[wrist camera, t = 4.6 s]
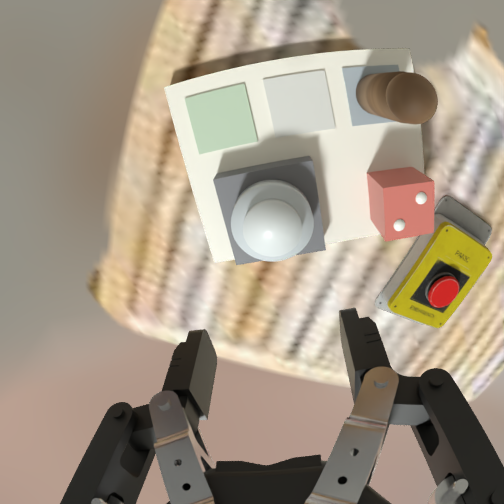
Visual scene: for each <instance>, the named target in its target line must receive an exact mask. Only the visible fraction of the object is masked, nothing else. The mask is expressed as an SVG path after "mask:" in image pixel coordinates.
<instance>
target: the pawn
mask: <svg viewBox="0 0 504 504" xmlns="http://www.w3.org/2000/svg"><path fill="white" fill-rule="evenodd" d="M356 99H357V101H358V103H359V105H360V107H361V108H362V109H363V110H364V111H366V112H367V113H369V114H372V115H376V116H379V117H383V118H386V119H390V120H393V121H396V122H400V123H408V124H422V123H424V122H426V121H428V120H429V119H431V118H432V116H433V115H434V113H435V112H436V109H437V105H438V98H437V94H436V91H435V89H434V87H433V85H432V84H431V83H430V82H429V81H428V80H427V79H426V78H425V77H423V76H421V75H419V74H416V73H411V72H404V71H398V72H386V73H376V74H369V75H366V76H364V77H363V78H362V79H361V80H360V81H359V82H358V84H357V87H356Z"/></svg>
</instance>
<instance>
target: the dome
mask: <svg viewBox="0 0 504 504" xmlns="http://www.w3.org/2000/svg"><path fill="white" fill-rule="evenodd" d="M313 228H314V219H313V214H312V211H311V208H310V205H309V202H308V200H307V198H306V197H305V195H304V194H303V193H302V192H301V191H300V190H299V189H298V188H297V187H295V186H294V185H292V184H290V183H288V182H285V181H281V180H263V181H259V182H257V183H254V184H252V185H251V186H249V187H248V188H246V189H245V190H244V191H243V192H242V193H241V195H240V196H239V197H238V199H237V201H236V203H235V206H234V209H233V213H232V217H231V230H232V234H233V237H234V239H235V241H236V242H237V244H238V245H239V247H240V248H241V249H242V250H243V251H244V252H246V253H247V254H249V255H250V256H252V257H254V258H257V259H259V260H264V261H281V260H285V259H288V258H291V257H293V256H294V255H296V254H298V253H299V252H300V251H301V250H302V249H303V248H304V247H305V246H306V245H307V243H308V242H309V240H310V238H311V236H312V233H313Z"/></svg>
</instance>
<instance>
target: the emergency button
mask: <svg viewBox="0 0 504 504" xmlns="http://www.w3.org/2000/svg"><path fill="white" fill-rule="evenodd" d="M491 231H492V229H491V227H490V226H489V225H488V224H487V223H485V222H484V221H483V220H481V219H480V218H479V217H477V216H476V215H475V214H473V213H472V212H471V211H469V210H468V209H467V208H465V207H464V206H462V205H461V204H460V203H458V202H457V201H455V200H454V199H452V198H451V197H449V196H445V197H443V198H442V199H441V200H440V201H439V202H438V204H437V206H436V207H435V209H434V233H430V234H424V235H419V236H418V237H417V239H416V240H415V242H414V244H413V245H412V247H411V248H410V250H409V251H408V253H407V254H406V256H405V257H404V259H403V260H402V262H401V263H400V265H399V266H398V268H397V269H396V271H395V272H394V274H393V275H392V277H391V278H390V280H389V281H388V282H387V284H386V285H385V287H384V288H383V290H382V291H381V292H380V294H379V295H378V297H377V298H376V300H375V305H376V307H377V308H379V309H382V310H384V311H387V312H390V313H392V314H395V315H398V316H400V317H403V318H406V319H408V320H411V321H414V322H416V323H419V324H426V325H428V326H431V327H434V328H440V327H442V326H443V325H444V324H445V323H446V321H447V320H448V319H449V318H450V316H451V315H452V314H453V313H454V311H455V310H456V309H457V307H458V306H459V305H460V304H461V302H462V301H463V300H464V298H465V297H466V296H467V294H468V293H469V292H470V290H471V289H472V287H473V286H474V285H475V283H476V282H477V280H478V279H479V278H480V276H481V275H482V273H483V272H484V270H485V269H486V267H487V266H488V264H489V263H490V261H491V259H492V254H491V252H490V251H489V249H488V248H487V247H486V246H485V244H486V242H487V241H488V239H489V238H490V235H491Z"/></svg>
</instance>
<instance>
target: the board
mask: <svg viewBox="0 0 504 504" xmlns="http://www.w3.org/2000/svg"><path fill="white" fill-rule="evenodd" d="M398 71H404V72H411V73H414V70H413V64H412V59H411V53H410V49H409V48H392V49H391V48H390V49H389V48H388V49H364V50H349V51H337V52H327V53H318V54H310V55H303V56H296V57H289V58H283V59H277V60H271V61H266V62H261V63H256V64H251V65H246V66H241V67H237V68H232V69H228V70H224V71H220V72H216V73H212V74H208V75H204V76H201V77H197V78H193V79H190V80H186V81H183V82H180V83H176V84H173V85H170V86H167V87H164V89H165V92H166V96H167V100H168V104H169V108H170V112H171V115H172V119H173V123H174V126H175V130H176V134H177V137H178V141H179V145H180V148H181V152H182V155H183V159H184V163H185V166H186V170H187V173H188V177H189V180H190V184H191V187H192V190H193V194H194V197H195V201H196V204H197V207H198V211H199V214H200V217H201V221H202V224H203V227H204V231H205V234H206V237H207V240H208V244H209V247H210V250H211V253H212V257H213V260H214V263H217V262H223V261H229V260H235V262H236V265H239V264H245V263H252V262H258V261H264V260H259V259H257V258H254V257H252V256H250V255H249V254H247V253H246V252H244V251H243V250H242V249H241V248H240V247H239V245H238V244H237V242H236V241H235V239H234V237H233V234H232V230H231V217H232V213H233V209H234V206H235V203H236V201H237V199H238V197H239V196H240V195H241V193H242V192H243V191H244V190H245V189H246V188H248V187H249V186H251V185H252V184H254V183H257V182H259V181H263V180H281V181H285V182H288V183H290V184H292V185H294V186H295V187H297V188H298V189H299V190H300V191H301V192H302V193H303V194H304V195H305V197H306V198H307V200H308V202H309V205H310V208H311V211H312V214H313V219H314V228H313V233H312V236H311V238H310V240H309V242H308V243H307V245H306V246H305V247H304V248H303V249H302V250H301V251H300V252H299V253H298V254H296V255H299V254H305V253H311V252H317V251H323V250H326V248H325V244H329V243H335V242H341V241H347V240H353V239H358V238H364V237H370V236H376V235H381V234H380V233H379V231H378V230H377V228H376V227H375V225H374V224H373V222H372V221H371V219H370V206H369V193H368V183H367V172H374V171H382V170H389V169H397V168H405V167H414V168H415V169H417V170H418V171H420V172H421V173H423V174H424V156H423V142H422V130H421V124H408V123H400V122H396V121H393V120H390V119H386V118H383V117H379V116H376V115H372V114H369V113H367V112H366V111H364V110H363V109H362V108H361V107H360V105H359V103H358V101H357V99H356V87H357V84H358V82H359V81H360V80H361V79H362V78H363V77H364V76H366V75H369V74H376V73H386V72H398Z"/></svg>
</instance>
